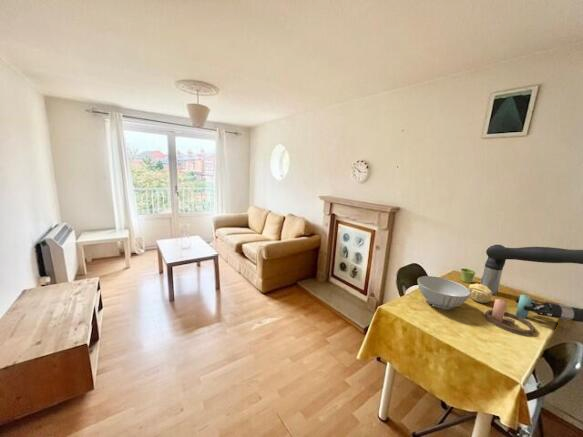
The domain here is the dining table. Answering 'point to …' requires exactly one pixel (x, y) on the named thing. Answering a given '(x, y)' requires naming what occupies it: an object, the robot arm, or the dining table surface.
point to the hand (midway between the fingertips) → (520, 304)
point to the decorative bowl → (443, 292)
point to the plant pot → (467, 275)
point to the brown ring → (511, 323)
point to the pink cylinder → (499, 310)
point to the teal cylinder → (523, 302)
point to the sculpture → (480, 293)
